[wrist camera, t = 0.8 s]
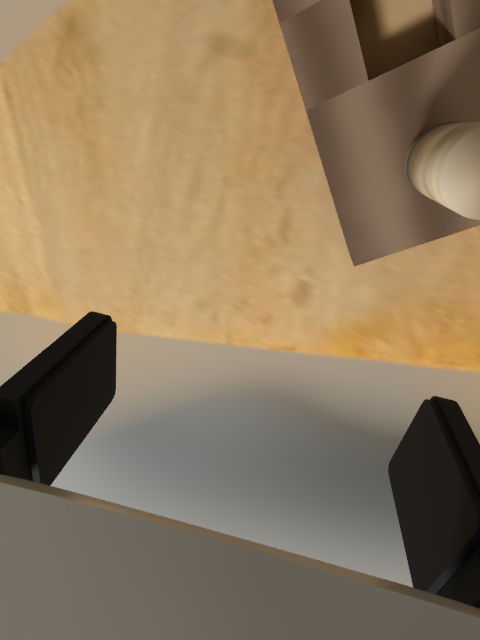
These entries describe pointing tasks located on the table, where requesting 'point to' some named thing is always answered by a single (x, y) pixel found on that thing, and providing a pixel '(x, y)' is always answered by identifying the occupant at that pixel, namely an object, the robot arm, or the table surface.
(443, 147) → the beech leg
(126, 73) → the table surface
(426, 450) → the robot arm
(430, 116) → the walnut board
